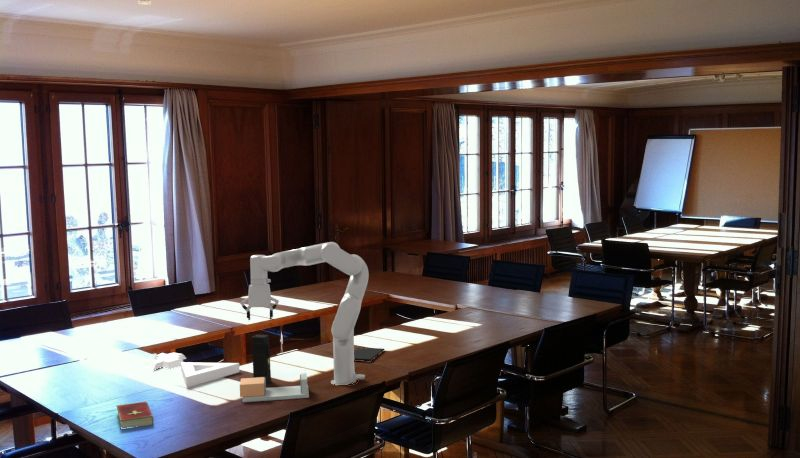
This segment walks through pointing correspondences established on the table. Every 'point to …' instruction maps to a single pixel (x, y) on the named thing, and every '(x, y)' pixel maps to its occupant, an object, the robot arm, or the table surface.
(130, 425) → the hardcover book
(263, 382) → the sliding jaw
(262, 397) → the vise bed
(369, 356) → the external hard drive
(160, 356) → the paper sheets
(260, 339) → the portable radio
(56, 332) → the table surface
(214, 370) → the triangle block
